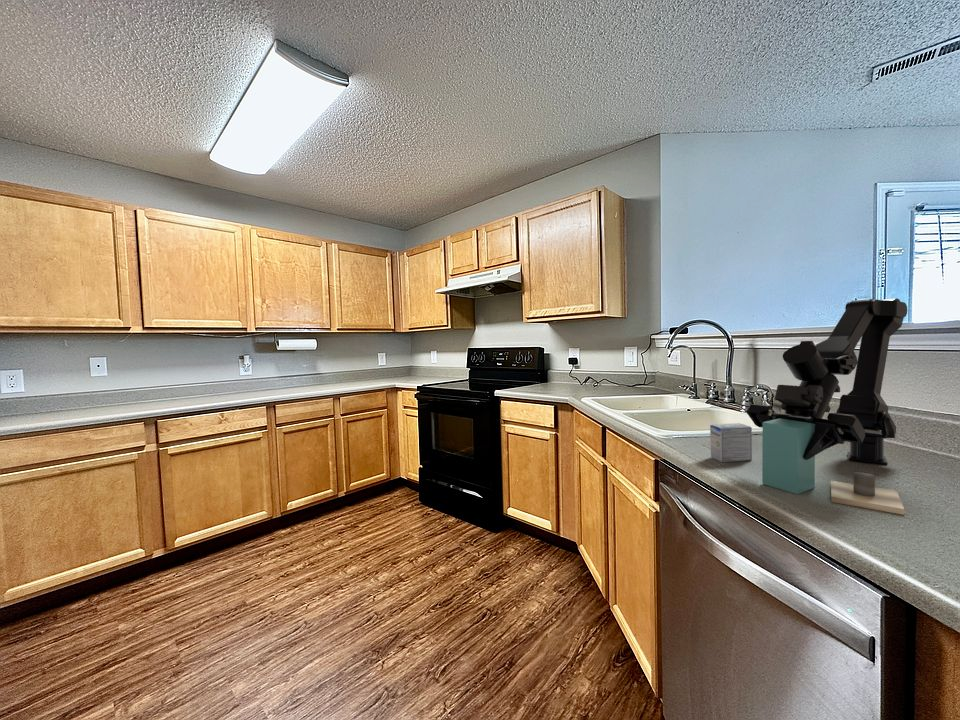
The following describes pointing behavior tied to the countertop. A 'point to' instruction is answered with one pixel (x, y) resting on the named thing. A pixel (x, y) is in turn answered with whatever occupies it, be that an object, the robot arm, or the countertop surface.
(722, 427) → the medicine box
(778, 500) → the countertop surface
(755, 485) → the countertop surface
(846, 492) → the peg stand
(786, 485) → the teal tall cube
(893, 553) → the countertop surface
